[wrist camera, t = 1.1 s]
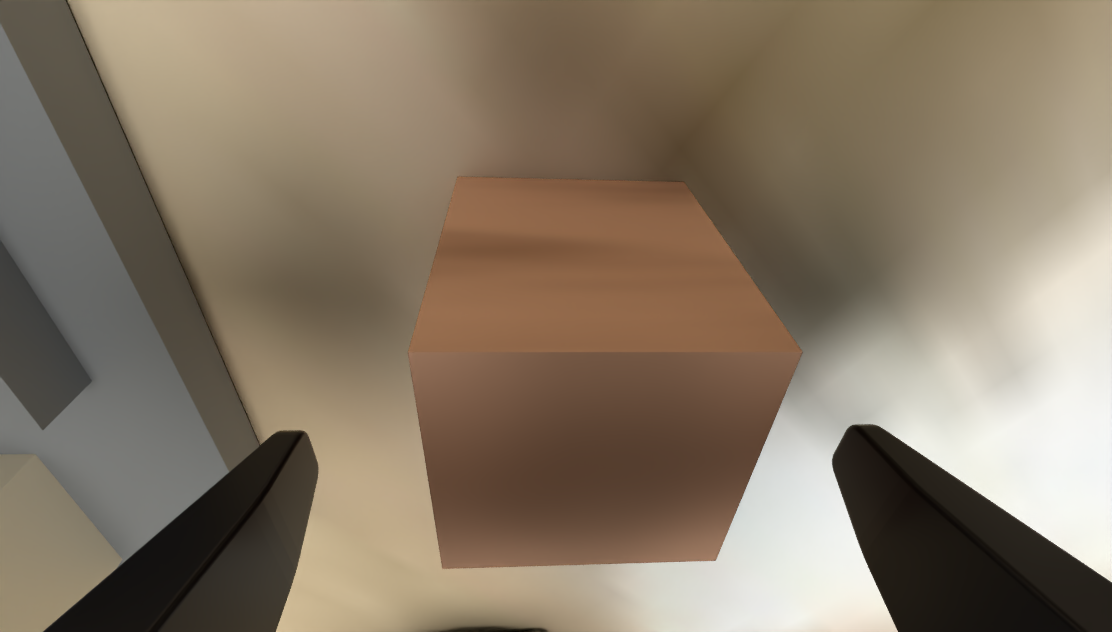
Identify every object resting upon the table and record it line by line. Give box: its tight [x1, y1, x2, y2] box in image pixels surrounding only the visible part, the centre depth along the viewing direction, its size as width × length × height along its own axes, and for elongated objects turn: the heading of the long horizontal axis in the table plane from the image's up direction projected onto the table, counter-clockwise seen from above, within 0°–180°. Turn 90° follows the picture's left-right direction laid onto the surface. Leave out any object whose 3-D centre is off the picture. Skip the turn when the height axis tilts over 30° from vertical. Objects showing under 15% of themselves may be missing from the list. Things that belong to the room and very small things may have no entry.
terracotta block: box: [408, 177, 803, 569], centre depth 10 cm, size 5×5×6 cm
